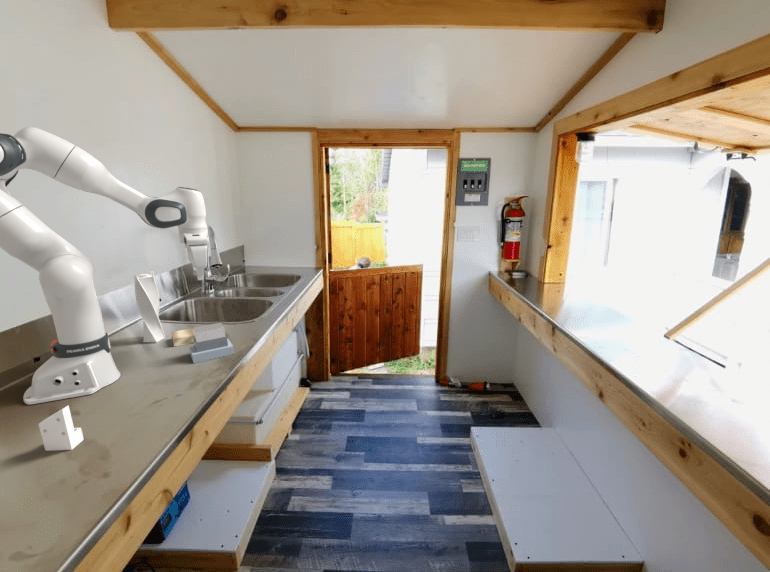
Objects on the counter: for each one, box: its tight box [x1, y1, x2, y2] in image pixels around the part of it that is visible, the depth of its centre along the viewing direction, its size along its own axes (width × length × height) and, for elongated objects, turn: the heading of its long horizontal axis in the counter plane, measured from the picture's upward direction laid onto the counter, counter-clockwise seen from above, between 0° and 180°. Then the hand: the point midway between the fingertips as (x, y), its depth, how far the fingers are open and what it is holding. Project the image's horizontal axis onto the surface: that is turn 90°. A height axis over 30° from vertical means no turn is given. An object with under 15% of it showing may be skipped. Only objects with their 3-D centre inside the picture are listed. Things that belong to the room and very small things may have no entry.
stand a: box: [170, 327, 194, 348], centre depth 149 cm, size 13×9×3 cm
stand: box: [188, 338, 235, 364], centre depth 135 cm, size 13×9×3 cm
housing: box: [192, 322, 228, 352], centre depth 134 cm, size 10×6×7 cm, turn 123°
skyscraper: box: [134, 269, 169, 344], centre depth 146 cm, size 8×8×28 cm
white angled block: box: [38, 405, 85, 452], centre depth 86 cm, size 4×10×9 cm
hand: (198, 277), depth 132 cm, fingers open, 8 cm apart
